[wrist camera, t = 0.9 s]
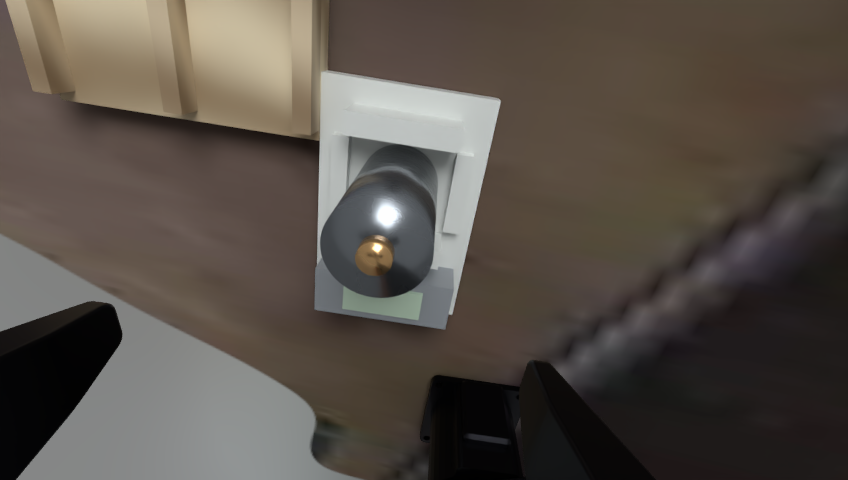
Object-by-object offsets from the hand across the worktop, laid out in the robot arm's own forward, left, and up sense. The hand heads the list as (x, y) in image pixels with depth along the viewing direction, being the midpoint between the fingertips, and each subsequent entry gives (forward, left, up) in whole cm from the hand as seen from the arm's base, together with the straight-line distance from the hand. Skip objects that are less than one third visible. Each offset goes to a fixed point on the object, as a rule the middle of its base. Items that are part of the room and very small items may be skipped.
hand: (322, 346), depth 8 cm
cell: (0, 0, -12) cm, 12 cm away
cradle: (-2, 0, -13) cm, 13 cm away
